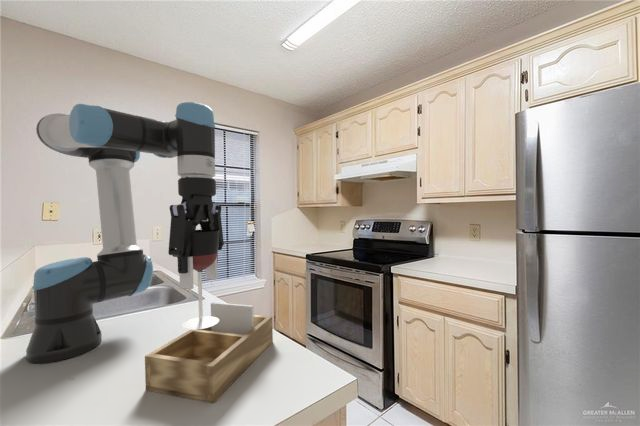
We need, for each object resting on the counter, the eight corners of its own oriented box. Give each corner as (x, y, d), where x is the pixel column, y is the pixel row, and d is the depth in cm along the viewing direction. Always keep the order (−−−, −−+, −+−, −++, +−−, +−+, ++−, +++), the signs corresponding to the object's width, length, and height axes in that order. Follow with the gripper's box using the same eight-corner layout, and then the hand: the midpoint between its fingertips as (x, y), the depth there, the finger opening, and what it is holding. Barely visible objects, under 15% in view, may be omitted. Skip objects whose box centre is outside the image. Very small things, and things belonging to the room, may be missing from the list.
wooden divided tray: (145, 390, 60) (144, 356, 60) (221, 335, 85) (221, 311, 85) (213, 403, 55) (212, 366, 55) (272, 341, 80) (272, 316, 80)
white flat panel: (211, 344, 77) (210, 303, 77) (213, 343, 78) (212, 302, 78) (252, 350, 74) (251, 306, 74) (254, 348, 75) (253, 305, 74)
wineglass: (208, 331, 59) (206, 232, 59) (170, 328, 61) (168, 232, 61) (228, 317, 67) (226, 229, 67) (194, 314, 69) (192, 229, 68)
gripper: (176, 171, 53) (180, 298, 53) (238, 181, 72) (240, 273, 73) (143, 173, 55) (146, 296, 55) (211, 182, 74) (214, 272, 75)
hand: (199, 283), depth 64 cm, fingers closed on wineglass, 7 cm apart
